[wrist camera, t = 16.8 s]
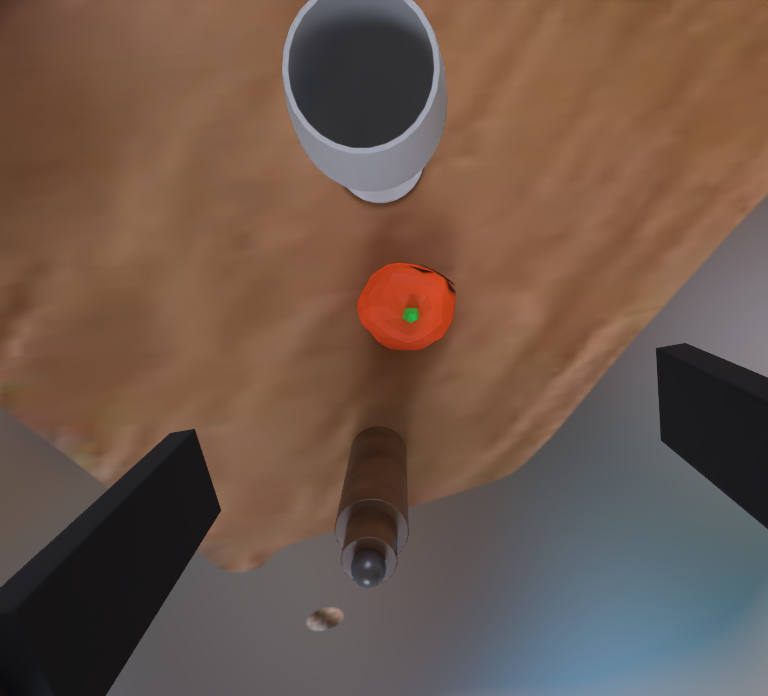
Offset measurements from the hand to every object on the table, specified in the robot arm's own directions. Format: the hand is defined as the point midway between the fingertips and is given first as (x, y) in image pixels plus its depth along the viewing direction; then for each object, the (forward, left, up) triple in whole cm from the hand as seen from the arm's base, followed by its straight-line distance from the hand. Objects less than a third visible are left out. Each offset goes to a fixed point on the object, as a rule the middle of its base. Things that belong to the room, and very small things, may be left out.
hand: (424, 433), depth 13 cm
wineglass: (-6, -10, -28) cm, 31 cm away
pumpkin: (+1, 0, -28) cm, 28 cm away
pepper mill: (+12, +9, -28) cm, 32 cm away
